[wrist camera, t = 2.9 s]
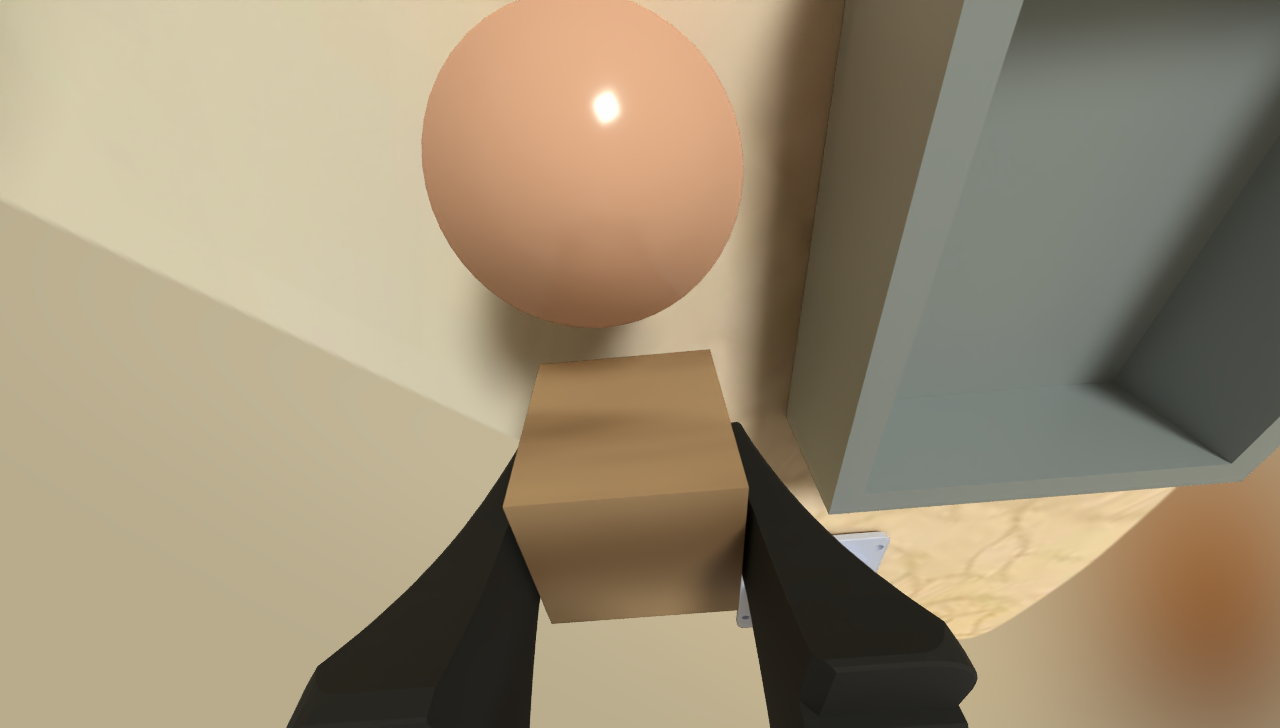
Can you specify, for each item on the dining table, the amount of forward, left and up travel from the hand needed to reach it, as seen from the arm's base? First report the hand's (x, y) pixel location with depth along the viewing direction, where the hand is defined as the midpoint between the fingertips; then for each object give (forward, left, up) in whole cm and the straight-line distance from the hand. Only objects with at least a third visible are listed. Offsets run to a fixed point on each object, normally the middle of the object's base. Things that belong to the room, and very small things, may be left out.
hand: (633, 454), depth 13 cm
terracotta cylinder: (+8, 0, -5) cm, 10 cm away
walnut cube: (0, 0, -2) cm, 2 cm away
